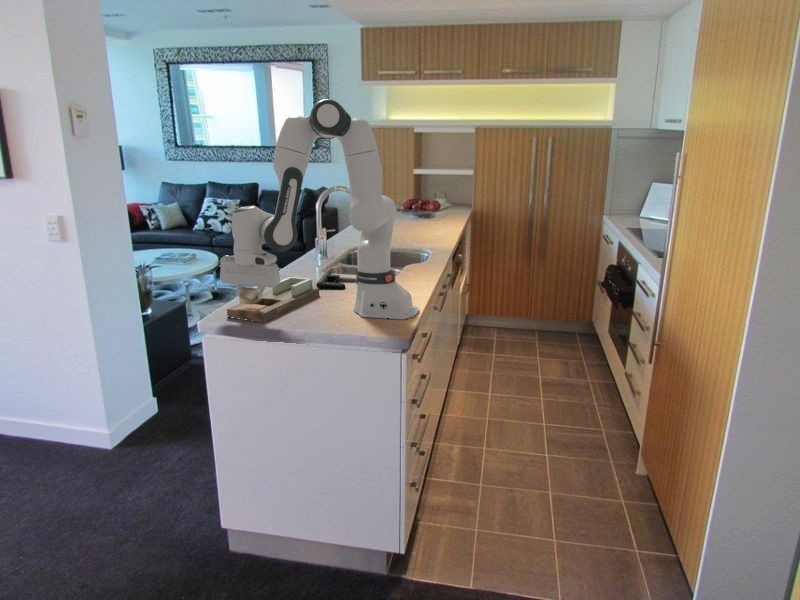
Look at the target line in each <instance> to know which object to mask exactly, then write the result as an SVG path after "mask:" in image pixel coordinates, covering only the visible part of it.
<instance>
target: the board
mask: <svg viewBox="0 0 800 600" xmlns="http://www.w3.org/2000/svg"><path fill="white" fill-rule="evenodd" d="M312 287H313V288H311V289H309V290H307V291H305V292H303V293H300V294H298V295H296V296H293V295H292V291H291V288H288V289H286V290H283V291H281V292H279V293H273V289H271V290H270V291H268V292H266V293H262V299H259V301H258V302H256V303H254V304H257V305H265V306H267V307H265V308H263V309H261V310H258V311H256V312H249V311H241V310H237V309H238V308H240V307H243V306H245V305H247V304H240V303H238V304H236V305H233V306H231V307H229V308H227V309H226V315H227V317H228V316H229V317H234V318H240V319H247V320H253V321H252V322H254V321H258V322H257V323H261V322H264V323H266V322H267V320H268V321H270V320H272V319H274V318H276V317H278V316H280V315H282V314H284V312H285V313H286V311H287V312H289V311H291V310H293V309H295V308H297V307H299V306H301V305H303V304H305V303H307V302H309V301H311V300H313V299H316V298H318V297H319V296H320V289H319V288H317V287H314V286H312ZM277 315H278V316H277ZM275 316H276V317H275ZM273 317H274V318H273ZM271 318H272V319H271ZM240 319H239V320H240ZM269 319H270V320H269ZM247 320H246V321H247ZM265 321H266V322H265Z"/></svg>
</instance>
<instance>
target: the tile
mask: <svg viewBox="0 0 800 600" xmlns="http://www.w3.org/2000/svg"><path fill="white" fill-rule="evenodd" d="M265 307H267V306H265V305H257V304H252V305H251V304H247V305H245V306H243V307H240V308H238V309H237V310H241V311H249V312H256V311H258V310H261V309H263V308H265Z"/></svg>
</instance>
